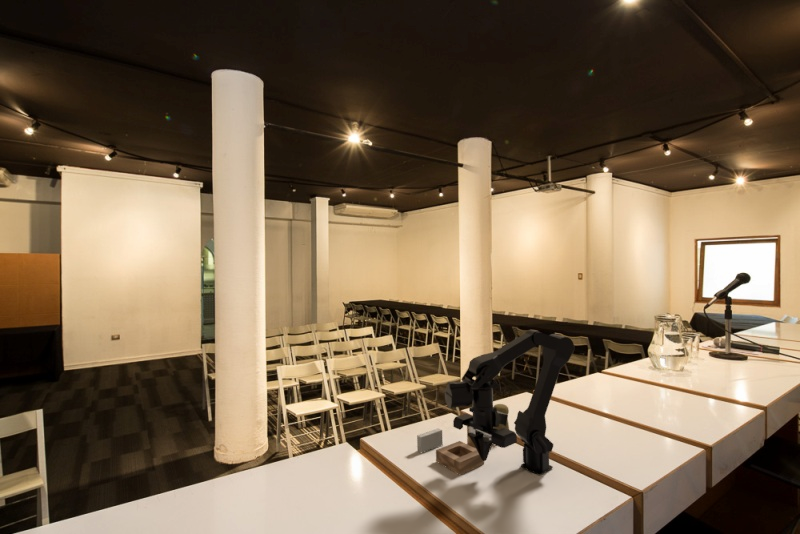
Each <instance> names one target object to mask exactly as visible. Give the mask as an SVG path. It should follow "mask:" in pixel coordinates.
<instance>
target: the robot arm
mask: <svg viewBox="0 0 800 534" xmlns="http://www.w3.org/2000/svg"><path fill="white" fill-rule="evenodd" d="M537 346H540V347H542V358H543V364H542V366H541V369H540V372H539V375H538V378H537V380H536V384H535V386H534V390H533V392H532V395H531V398H530V402H529V403H528V404H529V405H528V406H527V408H526V409H525V410H524V411H521V410H518V412H517V415H516V419H515V421H514V422H513V424H514V431H513V430H511V429H509V430H508V429H506V428H502V429H500V430H497V429H495V428H494V427H498V426H499V424H502V425H504V426H506V424H507V418H509V413H508V414H505V413H502V412H499V411H497V409H496V407H494V392H493V391H494V389H499V388H501V385H500V384H498V382H497V381H496V380H495V378H496V377H498V376H499V374H500V373H501V371H502V370H503V369H504V367H505V366H506V365H508V364H510V363H511V362H513V361H514V360H516V359H517V358H520V357H521V356H522V355H524V354H526V353H527V352H529V351H531V350H532V349H534V348H535V347H537ZM575 348H576V347H575V344H574V342H573V340H572V339H571V338H570V337H568V336H563V335H559V334H554V333H551V334H546V333H544V332H541V331H539V330H535V329H528V330H526V331H525V333H523V334H521V335H519V336H518V337H516V338H515V339H513V340H511V341H510V342H508V343H507V344H504V345H503V346H501V347H500V348H498V349H497V350H495V351H492V352H489V353H484V354H480V355H479V356H476V357H473V358H472V359H471V360H470V361H469V364H468V368H467V369H466V371H465V373H464V374H463V376H462V377H461V381H447V382H446V383H447V386H446V387H445V391H444V401H445V404H446V406H447V408H448V409H453V408H454V409H455V408H463V407H465V408H466V407H469V406H470V405H472V406H471V407H469V412H471V413H472V415H471V414H468V413H464V414H460V415H457V416H454V418H453V423H452V424H453V425H452V426H453V427H454V428H455V429H458V430H462V429H463V428H464V426H465V427H467V426H468V428H469V433H468V436H469V437H470V438H471V440H472V442H473V444H474V445H475V447H476V449H477V451H478V453H479V455H480V457H481V459H482V460H483V461H484V462H485V461H487V459H488V457H489V455H490V450H491V448H492V446H493V445H495V446H496V447H499V448H501V449H504V448H505V449H506V448H508V447H510V446H512V445H514V444H517V442H518V437H519V438H520V441H521V442H522V443H524V444H523V448H522V464H520V467H521V468H523V469H525V470H527V471H529V472H532V473H533V474H536V475H538V476H542V475H544V474H545V473H547V472H549V471H551V470H553V466H552V465H550V453H551V452H552V451H553V449H554V443H553V442H552V440H550V439H549V438H548V437H547V436H546V432H547V423H546V422H547V421H546V413H547V410H548V407H549V404H550V401H551V399H552V395H553V393H554V389H555V388H556V387H555V386H556V384H557V381H558V378H559V375H560V372H561V369H562V368H563V367H564V366H565V365H566V364H567V363H568V362H570V359H571V357H572V355H573V353H574V352H575ZM474 378H475V379H474ZM517 436H518V437H517Z"/></svg>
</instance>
